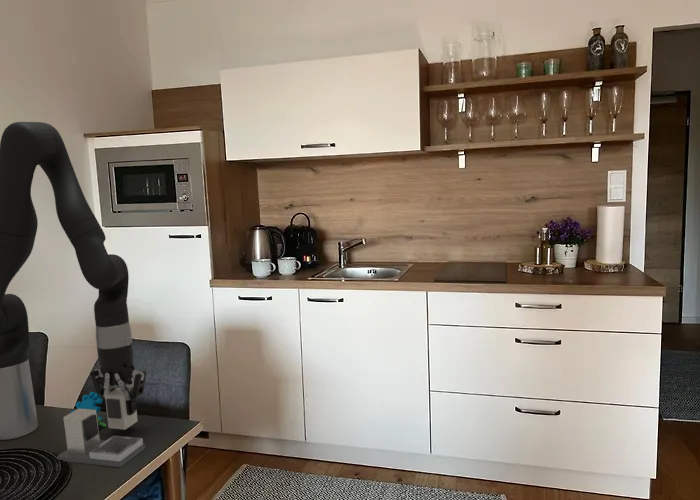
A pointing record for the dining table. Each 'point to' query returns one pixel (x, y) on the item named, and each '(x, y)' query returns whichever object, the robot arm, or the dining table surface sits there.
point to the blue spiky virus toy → (91, 405)
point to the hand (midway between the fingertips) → (122, 412)
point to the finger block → (118, 410)
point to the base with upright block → (96, 442)
